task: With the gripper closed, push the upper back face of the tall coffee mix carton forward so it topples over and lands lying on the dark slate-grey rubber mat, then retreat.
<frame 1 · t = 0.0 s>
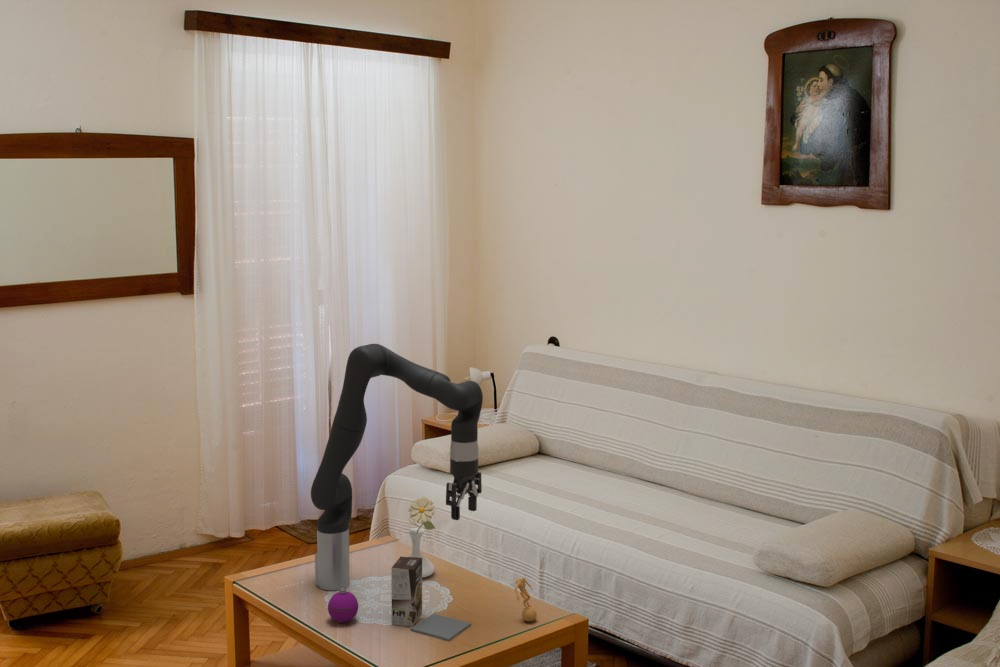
hand: (464, 515, 269), 29 cm above the table, fingers open, 8 cm apart
flower in vase: (418, 575, 304), on the table
figurine: (525, 620, 273), on the table
slate mat: (441, 627, 268), on the table
christmas ornament: (343, 621, 271), on the table
coffee box: (407, 619, 273), on the table
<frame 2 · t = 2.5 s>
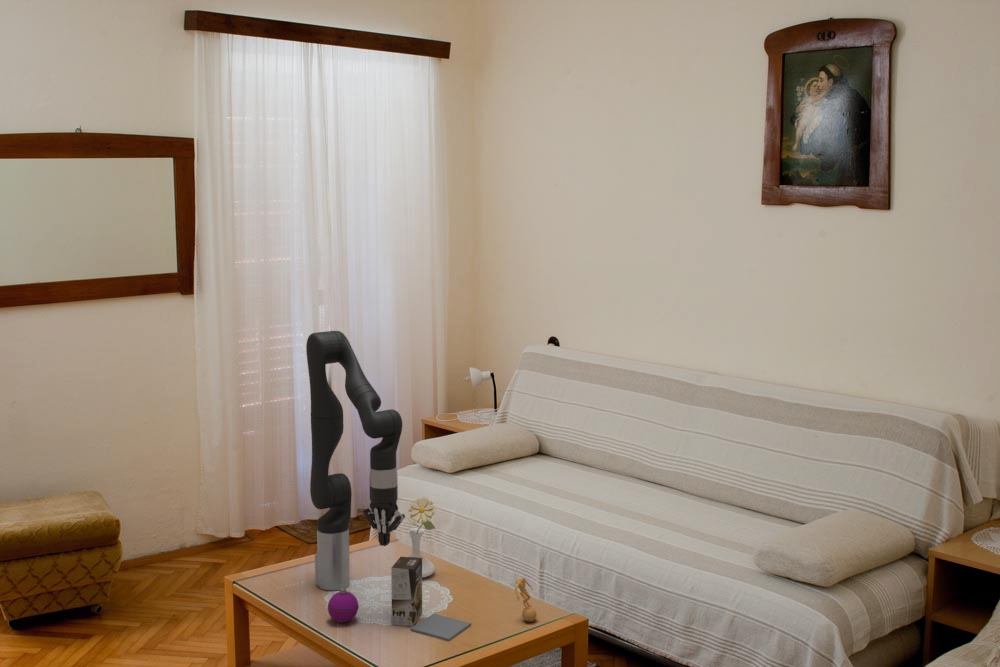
hand: (384, 544, 274), 20 cm above the table, fingers closed
nothing on the table moved.
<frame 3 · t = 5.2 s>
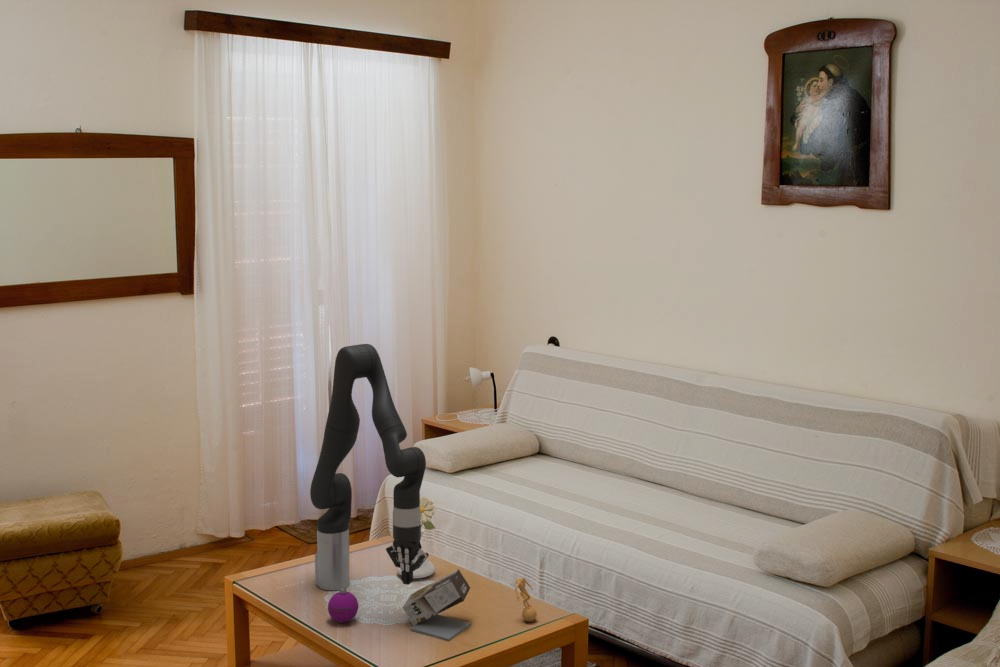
hand: (407, 583, 271), 10 cm above the table, fingers closed
coffee box: (411, 610, 272), point 2 cm above the table
everything else where it was.
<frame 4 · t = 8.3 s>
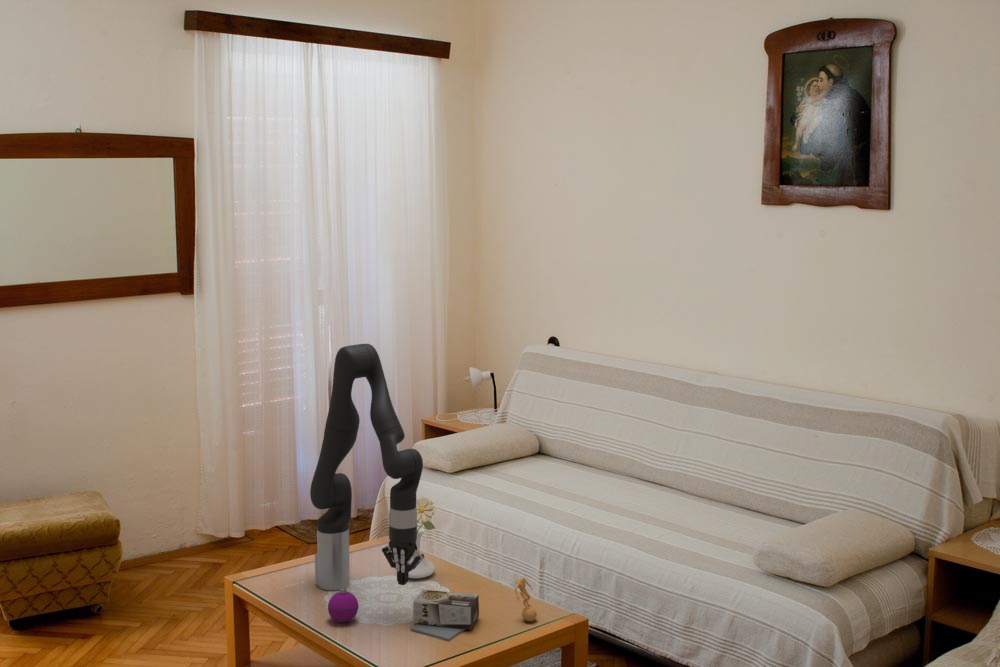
hand: (402, 583, 273), 10 cm above the table, fingers closed
coffee box: (417, 606, 272), point 4 cm above the table, touching slate mat
everything else where it was.
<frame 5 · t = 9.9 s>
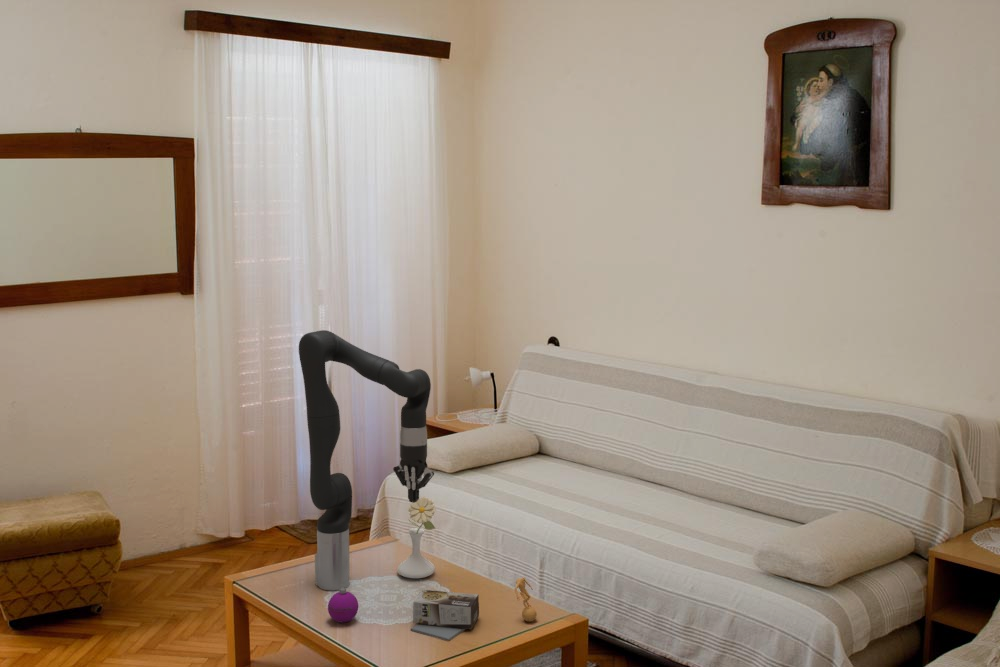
hand: (413, 501, 282), 29 cm above the table, fingers closed
nothing on the table moved.
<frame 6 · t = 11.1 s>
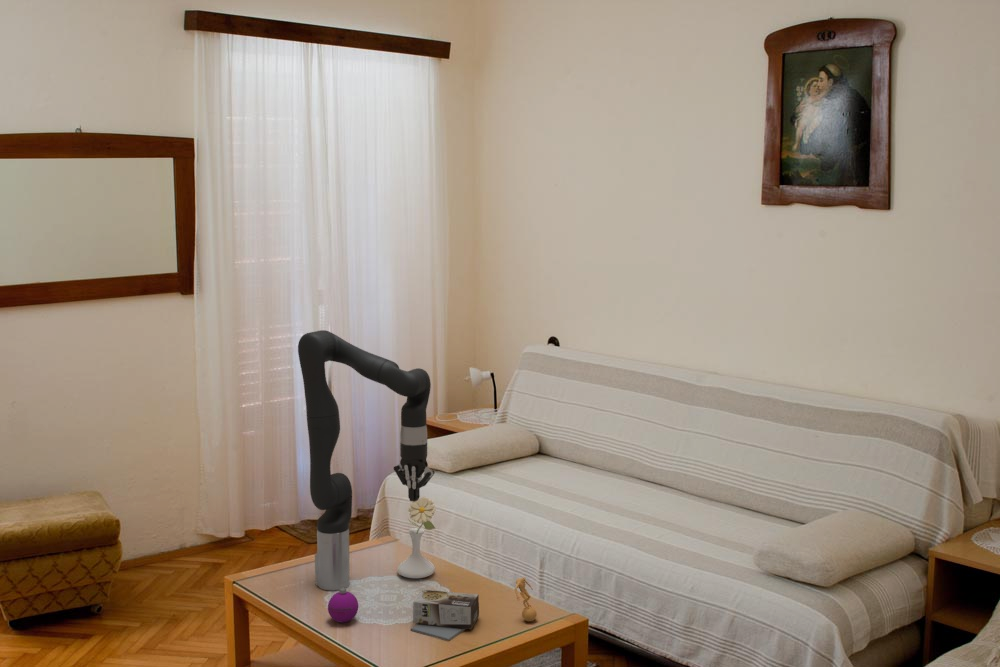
hand: (414, 500, 282), 29 cm above the table, fingers closed
nothing on the table moved.
at the end: coffee box tilted 90°; coffee box inside the target area (9.6 cm from its centre), point 3.8 cm above the table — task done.
